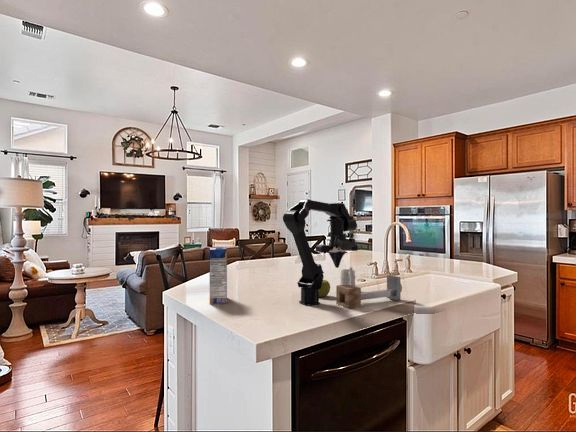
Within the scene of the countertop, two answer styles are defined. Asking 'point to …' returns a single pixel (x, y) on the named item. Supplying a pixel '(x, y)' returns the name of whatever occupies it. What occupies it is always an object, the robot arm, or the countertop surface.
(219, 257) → the beverage box
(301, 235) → the robot arm
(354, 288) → the block
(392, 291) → the hook rod
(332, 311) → the countertop surface
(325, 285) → the apple
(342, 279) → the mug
